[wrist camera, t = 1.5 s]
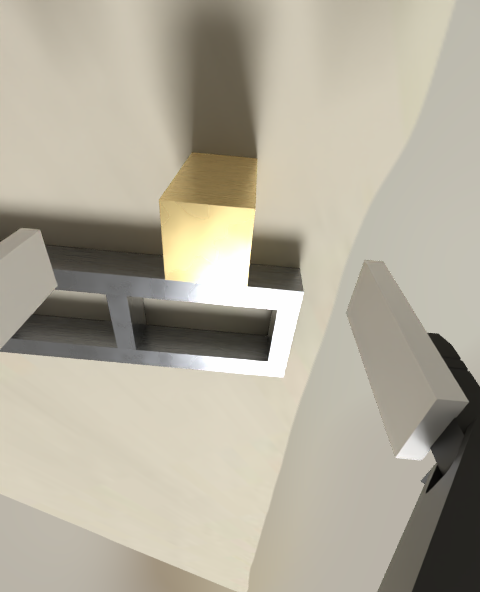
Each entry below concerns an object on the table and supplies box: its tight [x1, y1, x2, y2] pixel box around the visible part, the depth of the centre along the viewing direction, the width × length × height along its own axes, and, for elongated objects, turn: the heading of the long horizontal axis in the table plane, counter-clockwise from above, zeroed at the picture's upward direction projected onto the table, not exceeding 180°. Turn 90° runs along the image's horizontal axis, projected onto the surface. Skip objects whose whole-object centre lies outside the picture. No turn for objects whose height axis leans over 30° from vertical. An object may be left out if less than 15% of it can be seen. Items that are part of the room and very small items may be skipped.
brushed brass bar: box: [159, 152, 257, 287], centre depth 18 cm, size 4×4×8 cm
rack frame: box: [0, 241, 304, 377], centre depth 26 cm, size 9×26×3 cm, turn 86°
